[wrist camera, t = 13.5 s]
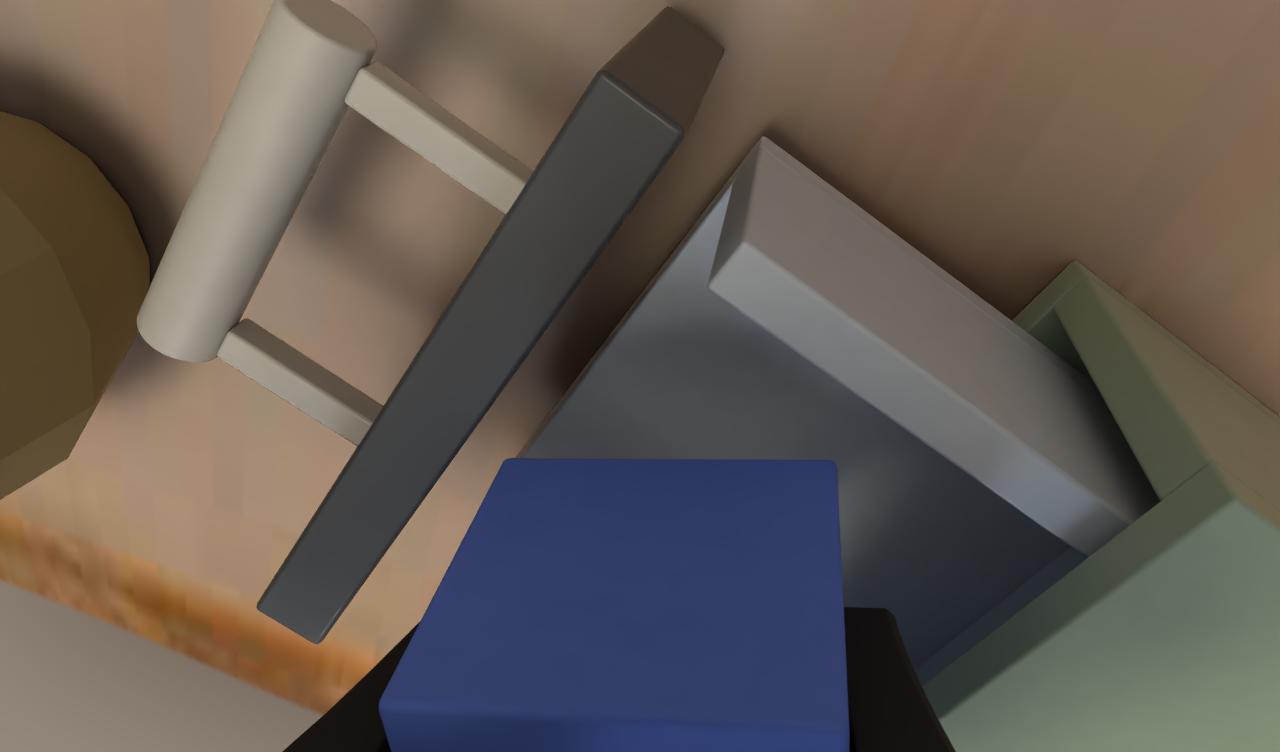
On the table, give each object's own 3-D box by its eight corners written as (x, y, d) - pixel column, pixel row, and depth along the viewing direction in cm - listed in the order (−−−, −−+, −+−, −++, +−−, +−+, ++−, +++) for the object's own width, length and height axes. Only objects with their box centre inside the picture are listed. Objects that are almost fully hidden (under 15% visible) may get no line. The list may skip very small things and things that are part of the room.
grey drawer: (217, 315, 20) (13, 467, 15) (451, -162, 15) (266, -179, 10) (848, 720, 22) (859, 970, 17) (1222, 424, 17) (1390, 650, 12)
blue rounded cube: (503, 455, 13) (372, 704, 9) (837, 456, 12) (850, 731, 8) (548, 695, 15) (456, 983, 11) (837, 710, 14) (847, 1026, 10)
